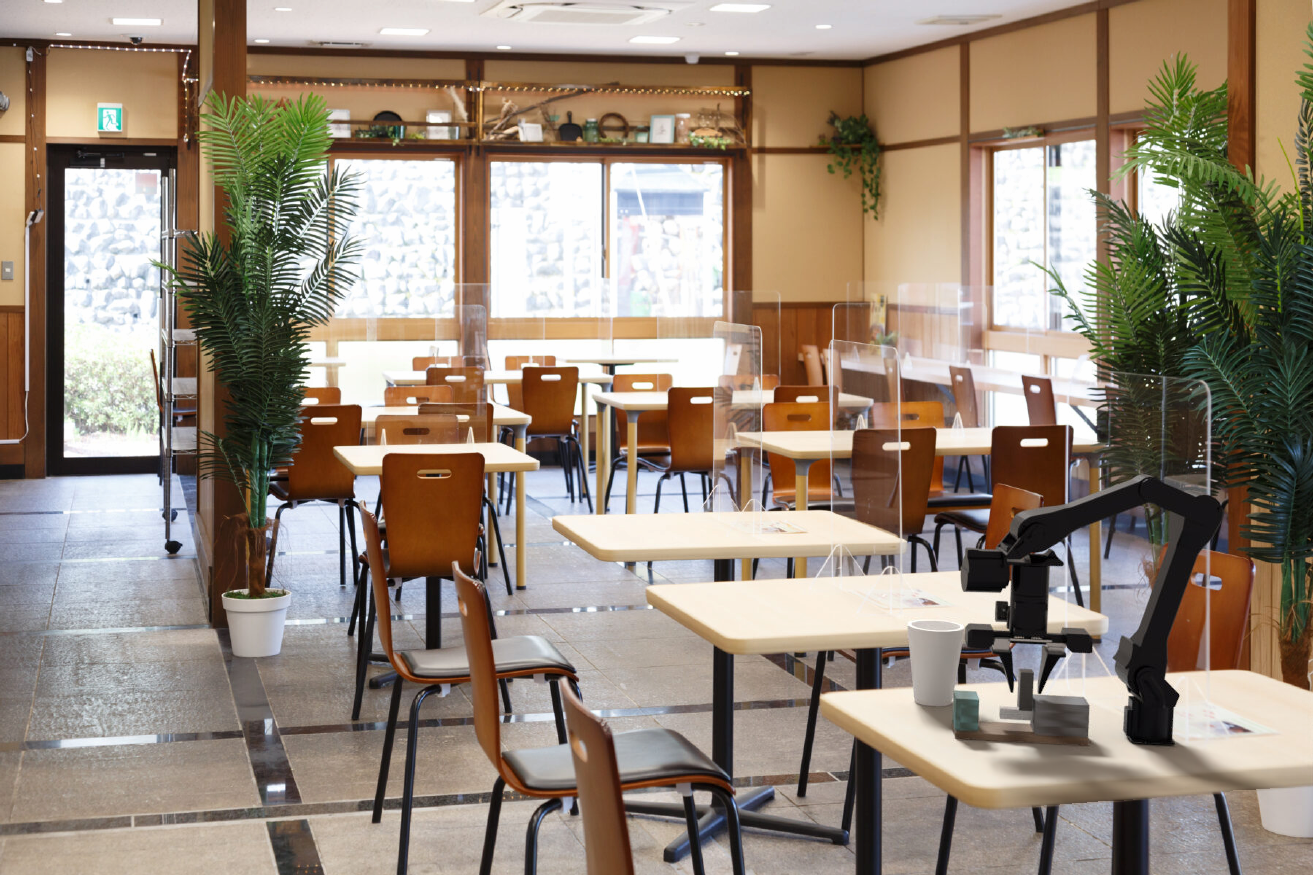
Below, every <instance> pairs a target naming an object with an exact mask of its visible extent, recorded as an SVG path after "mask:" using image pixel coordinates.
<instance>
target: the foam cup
mask: <svg viewBox="0 0 1313 875" xmlns="http://www.w3.org/2000/svg"><path fill="white" fill-rule="evenodd" d="M906 633H907V634H906V637H907V640H908V646H909V648H908V649H909V657H910V669H911V677H912V678H911V679H912V690H913V700H914V702H915V703H917V704H919V705H923V706H929V707H944V706H945V707H947V706H949V705H951V704H952V705H953V693H954V690H955V689H956V688H955V687H956V681H957V675H958V671H959V670H958V669H959V664H960V658H961V652H962V647H963V643H964V642H965V640H964V638H965V627H964V625H963V624H961V623H958V622H955V621H950V620H942V619H915V620H911V621H908V622H907V632H906Z"/></svg>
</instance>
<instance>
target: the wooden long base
mask: <svg viewBox="0 0 1313 875" xmlns="http://www.w3.org/2000/svg"><path fill="white" fill-rule="evenodd" d="M1032 708H1034V721H1030V720H1029V721H1030V722H1029V723H1023V722H1007V721H1006V722H1003V721H1000V722H999V721H987V720H985V721H982V720H979V719H980V718H979V713H980V697H979V695H978V693H977V691H974V690H958V689H957V690H956V689H954V693H953V700H952V719H951V727H952V728H951V729H952V731H953V732H952V733H953V736H954V739H956V740H957V739H958V740H959V739H961V740H975V741H994V742H1013V743H1016V742H1017V743H1027V744H1029V743H1030V744H1031V743H1032V744H1049V745H1064V746H1065V745H1066V746H1069V745H1070V746H1085V747H1089V746H1090V738H1089V727H1090V726H1089V725H1090V704H1089V703H1088V701H1087V699H1086V697H1084V696H1071V695H1069V696H1068V695H1053V694H1052V695H1051V694H1035V693H1033V705H1032Z"/></svg>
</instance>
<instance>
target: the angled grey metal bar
mask: <svg viewBox="0 0 1313 875" xmlns="http://www.w3.org/2000/svg"><path fill="white" fill-rule="evenodd" d="M1017 674H1018V677H1017V695H1016V696H1017V700H1016V706H1005V705H1004V706H1002V705H1001V706H999V712H998V714H999V715H998V716H999V719H1000V720H1015V721H1034V708H1032V705H1033V694H1034V678H1035V677H1034V676H1035V672H1034V671H1033V669H1031V668H1018V673H1017Z"/></svg>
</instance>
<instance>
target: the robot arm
mask: <svg viewBox="0 0 1313 875" xmlns="http://www.w3.org/2000/svg"><path fill="white" fill-rule="evenodd" d="M1145 504H1152V505H1154V506H1157V507H1159V508H1161V509H1163V510H1165V511H1168V512H1169V518H1168V524H1167V525H1168V543H1167V544H1168V545H1167V548H1166V551H1165V553H1164V556H1163V559H1162V562H1161V564H1160V568H1159V570H1158V572H1157V576H1156V578H1155V581H1154V583H1153V587H1152V590H1151V593H1150V596H1149V598H1148V601H1147V604H1146V607H1145V609H1144V613H1143V616H1142V617H1141V621H1140V624H1139V625H1138V628H1137V630H1136V631H1135V632H1134V633H1133V634H1132V635H1131V637H1130V638H1129V637H1127V636H1125V635H1123V634H1122V635H1121V636H1120V638H1119V644H1118V648H1117V651H1116V653H1115V654H1114V655H1113V656H1112V659H1113V660H1114V661H1115V664H1114V673H1115V674H1116V675H1117V678H1118V679H1119V680H1120V681H1121V682H1122V683H1123V684H1125V687H1126V689H1127V693H1129V694H1131V695H1128V698H1127V699H1128V700H1127V701H1128V703H1127V705H1125V706H1124V707H1123V727H1122V731H1123V732H1124V734H1125V735H1126V736H1127V738H1128V739H1129V741H1130V742H1131V743H1132V744H1149V745H1166V746H1168V745H1169V746H1175V745H1176V741H1175V740H1174V738H1173V736H1174V735H1173V732H1174V731H1173V730H1174V714H1175V712H1174V710H1175V707H1176V706H1177V704H1178V701H1179V698H1180V693H1179V692H1178V691H1177V690H1176V689H1175V688H1174V687H1173V686H1172V685H1171V684H1170V683H1169V682H1168V681H1167V680H1166V675H1167V670H1168V662H1169V659H1168V658H1169V656H1168V652H1169V651H1168V640H1169V637H1170V634H1171V631H1172V628H1173V626H1174V623H1175V620H1176V618H1177V615H1178V611H1179V609H1180V605H1181V604H1182V601H1183V597H1184V595H1185V593H1186V590H1187V587H1188V585H1189V581H1190V579H1191V577H1192V574H1193V573H1192V572H1193V570H1194V567H1195V564H1196V562H1197V559H1198V556H1199V554H1200V553H1201V552H1202V551H1203V549H1204V548H1205V547H1206V546H1207V545H1208V544H1209V543H1210V542H1211V541H1212V539H1213V538H1214V536H1215V534H1216V532H1217V530H1218V529H1219V527H1220V525H1221V523H1222V522H1223V521H1224V520H1223V519H1224V514H1225V513H1224V508H1223V507H1222V504H1221V502H1220V501H1219V500H1218V498H1216V497H1214V496H1212V495H1210V494H1207V493H1204V492H1202V491H1198V490H1193V489H1188V490H1182V489H1179V488H1177V487H1175V486H1172V485H1170V484H1167V483H1165V482H1163V481H1161V480H1160V479H1159V478H1157V477H1155V476H1152V475H1149V474H1145V473H1141V474H1138V475H1135V477H1133V478H1132V479H1128V480H1127V481H1124V482H1121V483H1118V484H1115V485H1113V486H1110V487H1107V488H1105V489H1101V490H1100V491H1096V492H1095V493H1092V494H1089V495H1086V496H1084V497H1080V498H1078V499H1076V500H1073V501H1071V502H1068V503H1066V504H1065V503H1064V504H1059V505H1052V506H1042V507H1037V508H1032V509H1028V510H1027V509H1026V510H1022V511H1020V512H1018V513H1017V514H1015V515H1014V516H1013V517H1012V520H1011V522H1010V524H1009V525H1010V526H1009V531H1008V532H1007V534H1006V535H1005V536H1004V537H1003V538H1002V539H1001V540H1000V542H999V543H998V544H997V545H996V547H995V549H991V548H990V549H986V548H976V547H965V549H964V556H963V559H962V563H961V564H962V565H961V566H960V585H961V586H960V587H961V590H962V592H964V593H988V594H989V593H991V594H993V593H994V594H995V593H996V594H997V593H999V594H1000V593H1001V592H1002V591H1003V589H1007V587H1009V584H1010V598H1009V602H1008V601H1007V600H996V601H995V609H994V621H995V622H997V623H1006V624H1005V625H1006V626H1005V627H1006V629H1007V630H996V629H993V627H992V624H991V623H974V622H973V623H970V622H969V623H967V625H966V626H965V627H964V642H965V644H966V647H967V648H970V649H982V650H983V649H984V650H985V649H987V650H989V649H990V652H991V654H993V655H998V656H999V660H1000V661H1001V663H1002V667H1003V670H1004V673H1005V674H1004V675H1005V677H1006V681H1007V685H1008V689H1009V692H1010V693H1012V694H1014V690H1015V689H1014V688H1015V677H1014V676H1015V674H1014V663H1013V652H1012V650H1011V648H1010V646H1011V644H1022V645H1023V644H1024V645H1041V656H1040V657H1041V659H1040V665H1039V671H1038V676H1037V677H1038V679H1037V689H1036V690H1037V695H1042V693H1043V690H1044V688H1045V687H1046V684H1047V681H1048V680H1049V677H1050V675H1051V673H1052V671H1053V669H1054V668H1055V667H1056V664H1057V663H1058V661H1059V660H1060V658H1061V659H1062V658H1063V659H1065V658H1066V657H1067V652H1066V651H1065V649H1068V650H1069V651H1070V652H1071V653H1073V654H1093V647H1094V646H1093V643H1094V642H1093V637H1092V636H1091V634H1090V633H1089V632H1088V631H1087V630H1086V629H1085V628H1083V627H1082V628H1081V627H1061V630H1060V632H1048V623H1049V622H1048V621H1049V620H1048V618H1049V616H1048V615H1049V597H1050V596H1049V594H1050V572H1051V570H1050V569H1051V567H1064V565H1065V562H1064V561H1063V560H1061V558H1059V557H1058V555H1057V554H1056V552H1055V550H1054V549H1052V547H1055V545H1057V544H1059V543H1061V542H1062V541H1064V540H1065V539H1066V538H1068V537H1069V536H1070V535H1071V534H1072V533H1074V532H1076V531H1077V530H1079V529H1081V528H1085V527H1086V526H1090V525H1092V524H1095V523H1097V522H1100V521H1103V520H1105V519H1108V518H1110V517H1111V518H1112V517H1114V516H1117V515H1119V514H1121V513H1124V512H1127V511H1130V510H1133V509H1135V508H1137V507H1140V506H1143V505H1145ZM1043 552H1044V553H1043ZM1010 566H1011V568H1010ZM1010 571H1011V572H1010Z"/></svg>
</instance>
